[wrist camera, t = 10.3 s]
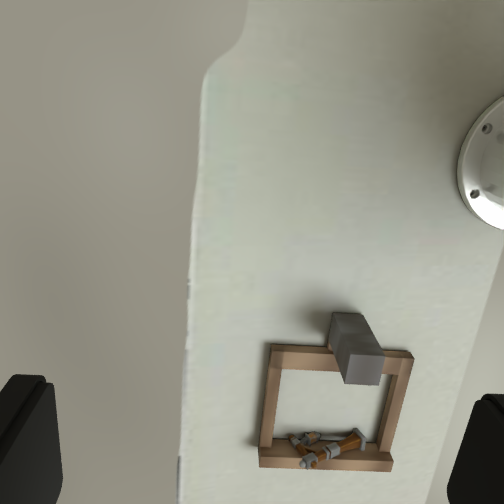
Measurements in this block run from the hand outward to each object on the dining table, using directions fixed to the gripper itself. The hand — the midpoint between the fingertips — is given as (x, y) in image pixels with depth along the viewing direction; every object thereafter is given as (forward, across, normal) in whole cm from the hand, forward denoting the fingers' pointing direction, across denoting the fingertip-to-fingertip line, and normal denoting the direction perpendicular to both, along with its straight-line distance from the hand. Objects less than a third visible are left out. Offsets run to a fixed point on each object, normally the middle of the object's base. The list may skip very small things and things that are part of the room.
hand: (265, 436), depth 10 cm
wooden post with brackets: (+31, -12, +29) cm, 44 cm away
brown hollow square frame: (+30, -12, +22) cm, 39 cm away
